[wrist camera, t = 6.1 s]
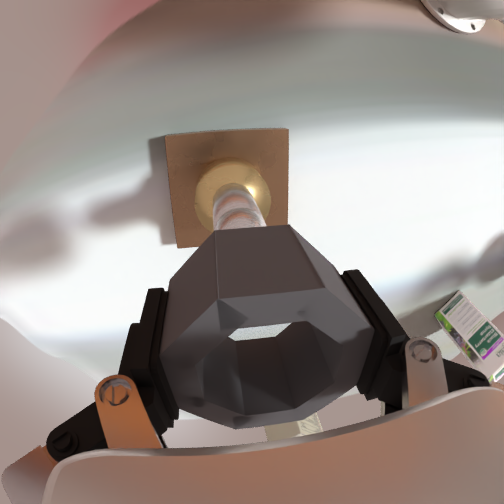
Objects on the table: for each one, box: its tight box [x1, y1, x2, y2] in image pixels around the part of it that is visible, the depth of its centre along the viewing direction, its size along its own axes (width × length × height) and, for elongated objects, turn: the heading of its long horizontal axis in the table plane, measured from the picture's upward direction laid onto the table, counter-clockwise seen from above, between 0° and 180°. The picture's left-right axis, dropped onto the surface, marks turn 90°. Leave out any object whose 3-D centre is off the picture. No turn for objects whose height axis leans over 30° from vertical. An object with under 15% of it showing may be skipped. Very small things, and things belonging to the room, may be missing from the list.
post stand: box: [165, 128, 289, 248], centre depth 21 cm, size 10×10×12 cm
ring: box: [159, 224, 375, 429], centre depth 10 cm, size 6×6×4 cm
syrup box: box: [435, 291, 504, 383], centre depth 33 cm, size 6×6×14 cm
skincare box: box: [264, 412, 323, 441], centre depth 33 cm, size 6×4×12 cm
